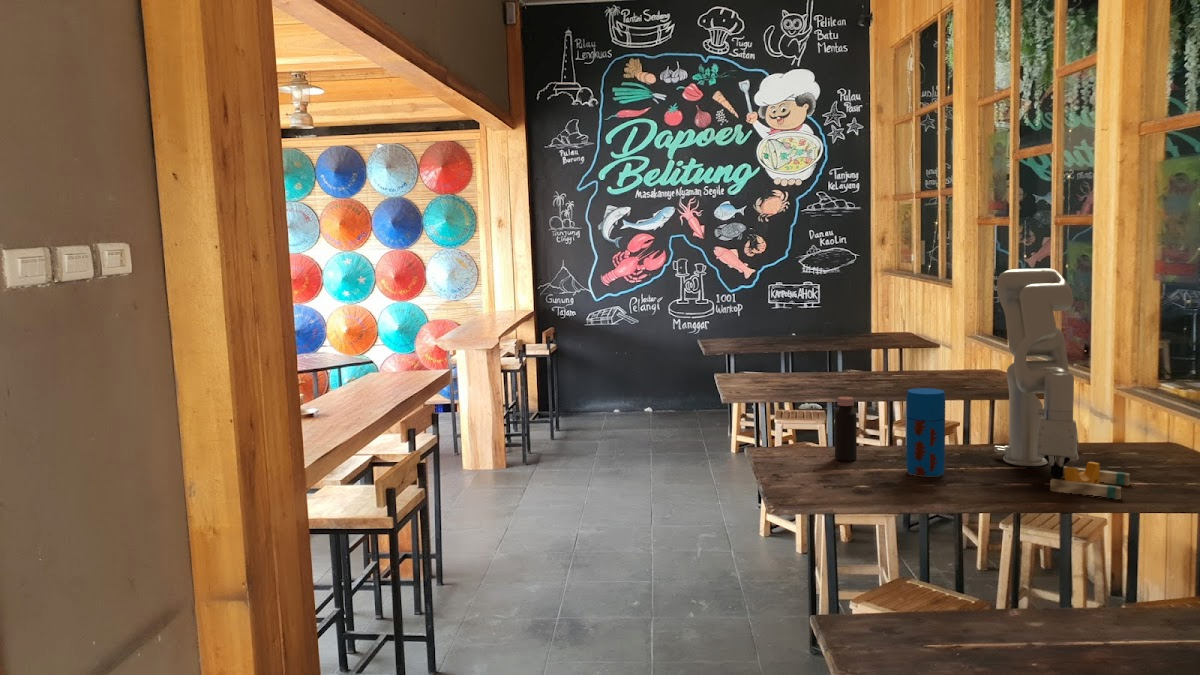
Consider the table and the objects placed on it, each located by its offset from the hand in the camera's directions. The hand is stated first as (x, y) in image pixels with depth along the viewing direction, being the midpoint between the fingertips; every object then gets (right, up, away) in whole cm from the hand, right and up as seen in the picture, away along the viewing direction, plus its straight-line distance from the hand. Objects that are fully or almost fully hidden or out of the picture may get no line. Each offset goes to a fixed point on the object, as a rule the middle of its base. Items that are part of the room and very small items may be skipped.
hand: (1057, 478), depth 268 cm
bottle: (-51, +1, +36) cm, 62 cm away
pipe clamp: (+4, -2, -4) cm, 6 cm away
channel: (+7, -2, -5) cm, 9 cm away
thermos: (-32, -1, +16) cm, 36 cm away
